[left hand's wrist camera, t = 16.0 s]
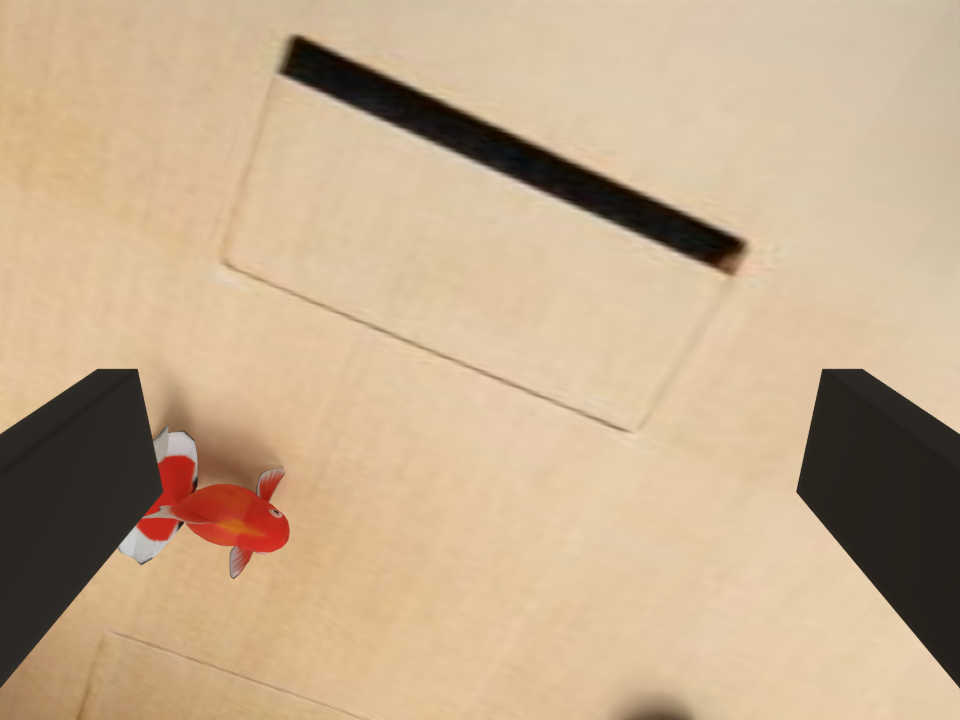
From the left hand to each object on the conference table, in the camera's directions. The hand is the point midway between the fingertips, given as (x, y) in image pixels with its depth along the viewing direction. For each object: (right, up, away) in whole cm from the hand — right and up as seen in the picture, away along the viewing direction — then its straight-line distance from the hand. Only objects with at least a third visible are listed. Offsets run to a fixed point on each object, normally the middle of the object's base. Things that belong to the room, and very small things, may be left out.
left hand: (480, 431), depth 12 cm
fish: (-21, -8, +37) cm, 43 cm away
